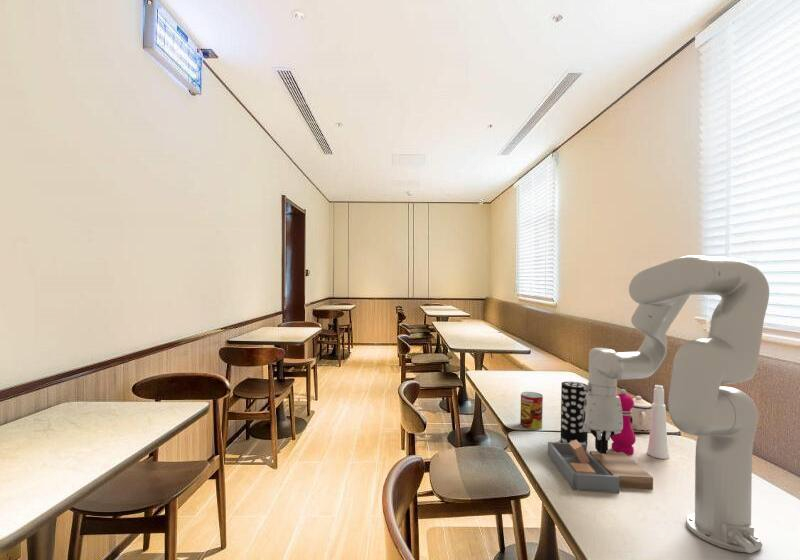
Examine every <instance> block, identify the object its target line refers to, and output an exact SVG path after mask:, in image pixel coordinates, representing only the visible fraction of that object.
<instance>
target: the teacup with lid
mask: <svg viewBox="0 0 800 560" xmlns="http://www.w3.org/2000/svg"><path fill="white" fill-rule="evenodd" d="M632 399H633V401H634V406H633V408H631V410H632V415H630V424H631V427H632V430H635V429H636V430H637V431H641V430H644V431H643V432H647V430H648V431H650V426H651V411H652V403H650V402H648V401H646V400H645V399H643V398H642V396H641V395H636V396H635V397H634V398H633V397H632Z"/></svg>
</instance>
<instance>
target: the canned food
mask: <svg viewBox="0 0 800 560" xmlns="http://www.w3.org/2000/svg"><path fill="white" fill-rule="evenodd" d="M543 396H544V395H543V394H541V393H540V392H539V393H538V392H536V391H535V392H534V391H523V392H521V393H520V423H519V424H520V427H521V426H522V427H521V428H523V429H525V430H526V429H527V430H530V431H531V430H532V431H537V430H538V431H539V430H542V429H543V405H544V403H543V399H544V397H543Z"/></svg>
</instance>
